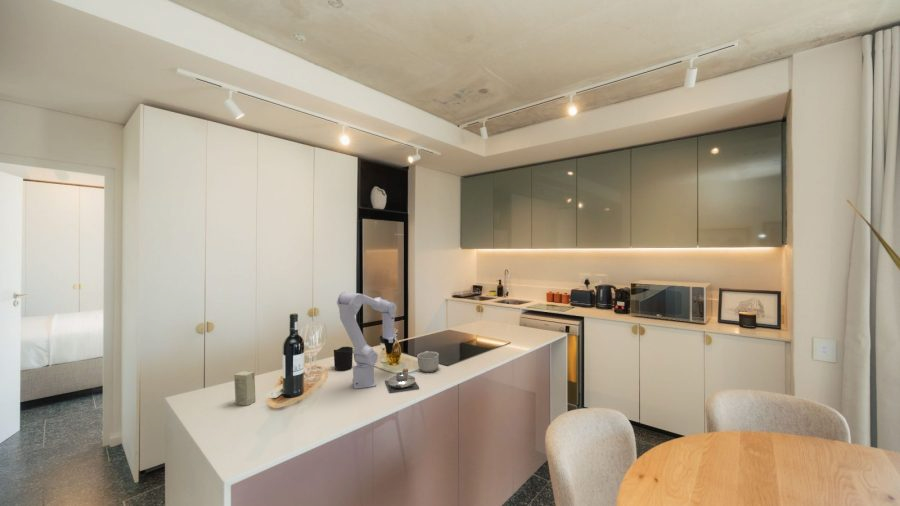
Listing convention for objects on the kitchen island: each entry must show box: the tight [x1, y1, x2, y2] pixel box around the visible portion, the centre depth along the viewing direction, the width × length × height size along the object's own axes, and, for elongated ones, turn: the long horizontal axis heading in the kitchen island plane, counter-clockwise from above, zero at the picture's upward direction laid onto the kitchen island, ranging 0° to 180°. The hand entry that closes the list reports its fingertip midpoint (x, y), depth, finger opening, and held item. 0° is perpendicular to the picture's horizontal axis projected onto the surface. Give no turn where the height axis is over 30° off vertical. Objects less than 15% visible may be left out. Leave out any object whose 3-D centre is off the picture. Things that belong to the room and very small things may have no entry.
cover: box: [395, 371, 409, 382], centre depth 160 cm, size 5×5×3 cm
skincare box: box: [233, 370, 257, 406], centre depth 143 cm, size 6×4×12 cm
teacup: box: [416, 350, 440, 373], centre depth 181 cm, size 14×11×8 cm
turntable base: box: [384, 379, 420, 394], centre depth 160 cm, size 13×13×1 cm
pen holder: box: [333, 346, 354, 372], centre depth 183 cm, size 9×9×10 cm
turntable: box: [387, 368, 416, 388], centre depth 161 cm, size 15×12×3 cm
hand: (388, 353), depth 175 cm, fingers closed
